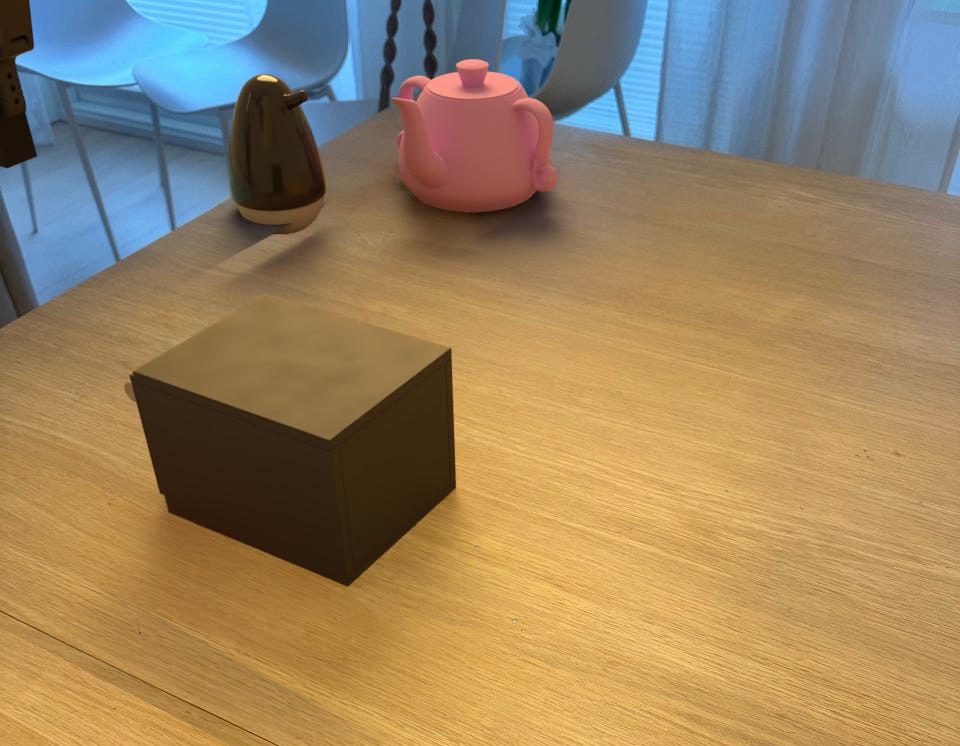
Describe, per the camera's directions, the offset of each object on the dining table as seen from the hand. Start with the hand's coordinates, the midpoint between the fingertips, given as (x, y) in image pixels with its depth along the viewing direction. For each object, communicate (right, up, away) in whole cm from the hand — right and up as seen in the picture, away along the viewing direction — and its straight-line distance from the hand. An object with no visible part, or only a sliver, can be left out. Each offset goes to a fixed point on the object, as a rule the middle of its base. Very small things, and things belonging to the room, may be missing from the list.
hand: (15, 159), depth 77 cm
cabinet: (+21, -24, +4) cm, 31 cm away
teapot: (+31, +16, +47) cm, 59 cm away
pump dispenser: (+11, +11, +43) cm, 45 cm away
